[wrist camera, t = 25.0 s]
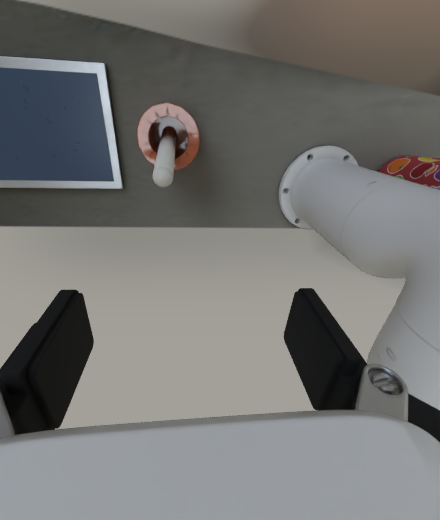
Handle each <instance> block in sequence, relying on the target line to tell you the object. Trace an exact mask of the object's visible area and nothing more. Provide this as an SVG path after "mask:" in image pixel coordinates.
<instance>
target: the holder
mask: <svg viewBox="0 0 440 520" xmlns="http://www.w3.org/2000/svg"><path fill="white" fill-rule="evenodd" d="M168 126H169V127H172V128H174V129H175V131H176V147H175V160H174V170H179V169H183V168H185V167H186V166H187V165H188V164H189V163H191V162H192V161H193V160H194V158H195V156H196V154H197V152H198V149H199V130H198V128H197V125H196V123H195V120H194V118H193V117H192V116H191V115H190V114H189V113H188V112H187V111H186V110H185V109H184V108H183V107H181V106H178V105H175V104H171V103H168V102H165V103H161V104H156V105H153V106H151V107H150V108H149V109H148V110H147V111H146V112H145V113H144V114H143V115H142V116H141V119H140V122H139V124H138V127H137V137H138V145H139V147H140V149H141V151H142V153H143V155H144V156H145V158H146V159H147V160H148V161H149V162H150V163H152V164H153V165H154V166H155V162H156V157H157V153H158V148H159V144H160V139H161V135H162V131H163V129H164V128H165V127H168Z"/></svg>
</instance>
